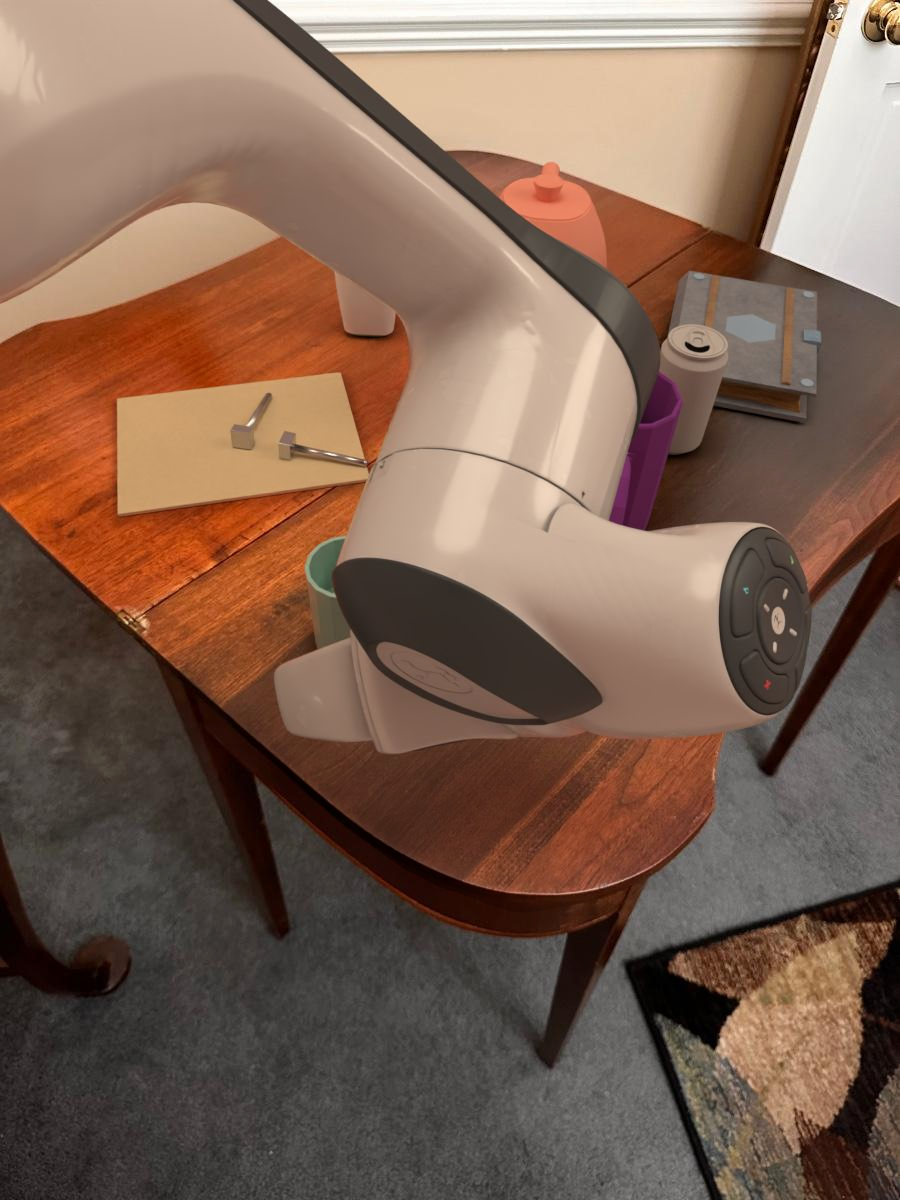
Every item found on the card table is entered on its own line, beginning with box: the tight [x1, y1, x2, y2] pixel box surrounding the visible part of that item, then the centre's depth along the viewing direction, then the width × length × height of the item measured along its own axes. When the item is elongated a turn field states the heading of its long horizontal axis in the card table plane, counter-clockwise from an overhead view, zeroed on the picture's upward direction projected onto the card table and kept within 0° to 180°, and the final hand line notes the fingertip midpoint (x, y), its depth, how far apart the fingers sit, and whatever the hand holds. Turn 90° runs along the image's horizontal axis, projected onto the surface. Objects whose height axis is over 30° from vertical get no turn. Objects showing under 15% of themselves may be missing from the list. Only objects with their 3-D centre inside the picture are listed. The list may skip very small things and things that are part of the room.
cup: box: [333, 271, 397, 337], centre depth 98 cm, size 7×7×15 cm
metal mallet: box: [278, 431, 369, 467], centre depth 87 cm, size 2×2×9 cm
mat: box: [116, 371, 370, 518], centre depth 89 cm, size 24×18×1 cm
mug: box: [609, 372, 683, 531], centre depth 75 cm, size 9×16×15 cm, turn 170°
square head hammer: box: [230, 392, 272, 450], centre depth 90 cm, size 2×2×9 cm
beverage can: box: [659, 324, 728, 456], centre depth 87 cm, size 6×6×12 cm
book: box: [666, 270, 822, 423], centre depth 100 cm, size 21×16×5 cm
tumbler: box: [303, 535, 350, 650], centre depth 70 cm, size 6×6×9 cm
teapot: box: [497, 161, 608, 269], centre depth 105 cm, size 25×17×13 cm
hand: (389, 665), depth 56 cm, fingers open, 8 cm apart
